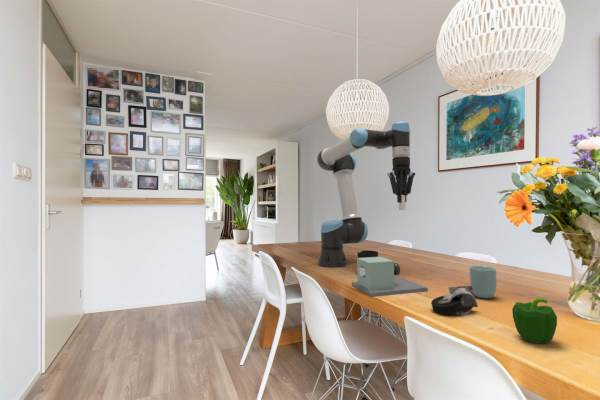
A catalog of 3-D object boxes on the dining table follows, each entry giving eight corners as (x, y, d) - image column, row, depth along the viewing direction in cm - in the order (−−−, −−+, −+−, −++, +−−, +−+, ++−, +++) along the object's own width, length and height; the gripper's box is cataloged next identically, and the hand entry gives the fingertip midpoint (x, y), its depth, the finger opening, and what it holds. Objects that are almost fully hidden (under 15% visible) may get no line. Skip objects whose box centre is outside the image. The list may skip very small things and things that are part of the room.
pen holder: (354, 271, 148) (354, 250, 148) (373, 270, 150) (373, 250, 150) (362, 276, 139) (361, 253, 139) (381, 275, 141) (381, 253, 141)
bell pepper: (505, 337, 75) (504, 295, 75) (522, 329, 79) (521, 290, 79) (547, 351, 67) (546, 305, 68) (563, 342, 72) (562, 298, 72)
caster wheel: (432, 322, 91) (438, 307, 99) (475, 321, 85) (478, 306, 93) (426, 300, 91) (433, 287, 100) (468, 298, 85) (472, 284, 93)
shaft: (357, 276, 118) (357, 264, 118) (393, 273, 122) (393, 261, 122) (363, 279, 114) (362, 266, 114) (400, 276, 118) (400, 264, 118)
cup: (489, 293, 110) (488, 265, 110) (501, 300, 102) (500, 270, 102) (466, 293, 110) (465, 265, 111) (476, 300, 103) (476, 270, 103)
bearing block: (351, 285, 124) (351, 257, 124) (402, 280, 130) (402, 253, 130) (371, 296, 108) (370, 264, 109) (427, 290, 114) (427, 260, 115)
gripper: (392, 155, 133) (393, 210, 133) (419, 156, 137) (420, 209, 136) (383, 158, 141) (384, 210, 140) (408, 158, 144) (409, 209, 144)
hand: (402, 209), depth 138 cm, fingers closed
